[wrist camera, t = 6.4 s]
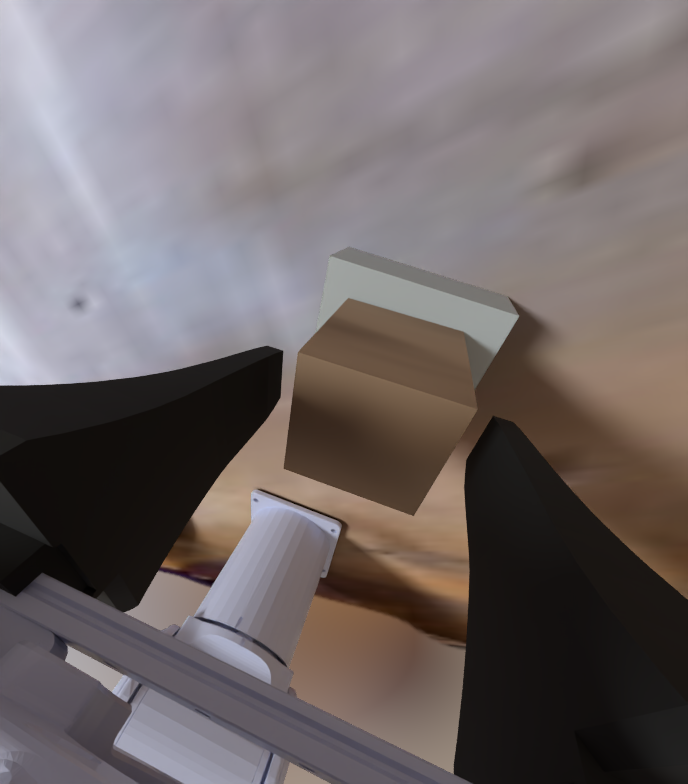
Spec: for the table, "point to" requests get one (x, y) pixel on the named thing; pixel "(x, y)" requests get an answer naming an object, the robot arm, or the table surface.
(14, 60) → the table surface
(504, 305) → the grey block
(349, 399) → the walnut block
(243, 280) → the table surface
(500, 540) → the robot arm
